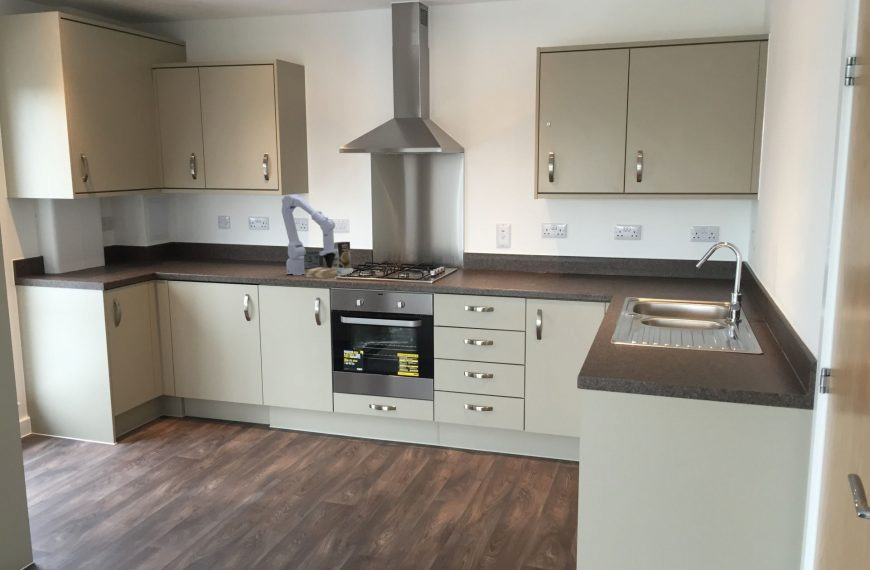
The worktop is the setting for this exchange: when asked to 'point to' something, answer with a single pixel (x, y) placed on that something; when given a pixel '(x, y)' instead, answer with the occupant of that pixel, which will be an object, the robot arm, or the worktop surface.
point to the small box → (313, 260)
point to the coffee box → (342, 255)
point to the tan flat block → (321, 272)
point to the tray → (345, 271)
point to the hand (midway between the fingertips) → (329, 267)
